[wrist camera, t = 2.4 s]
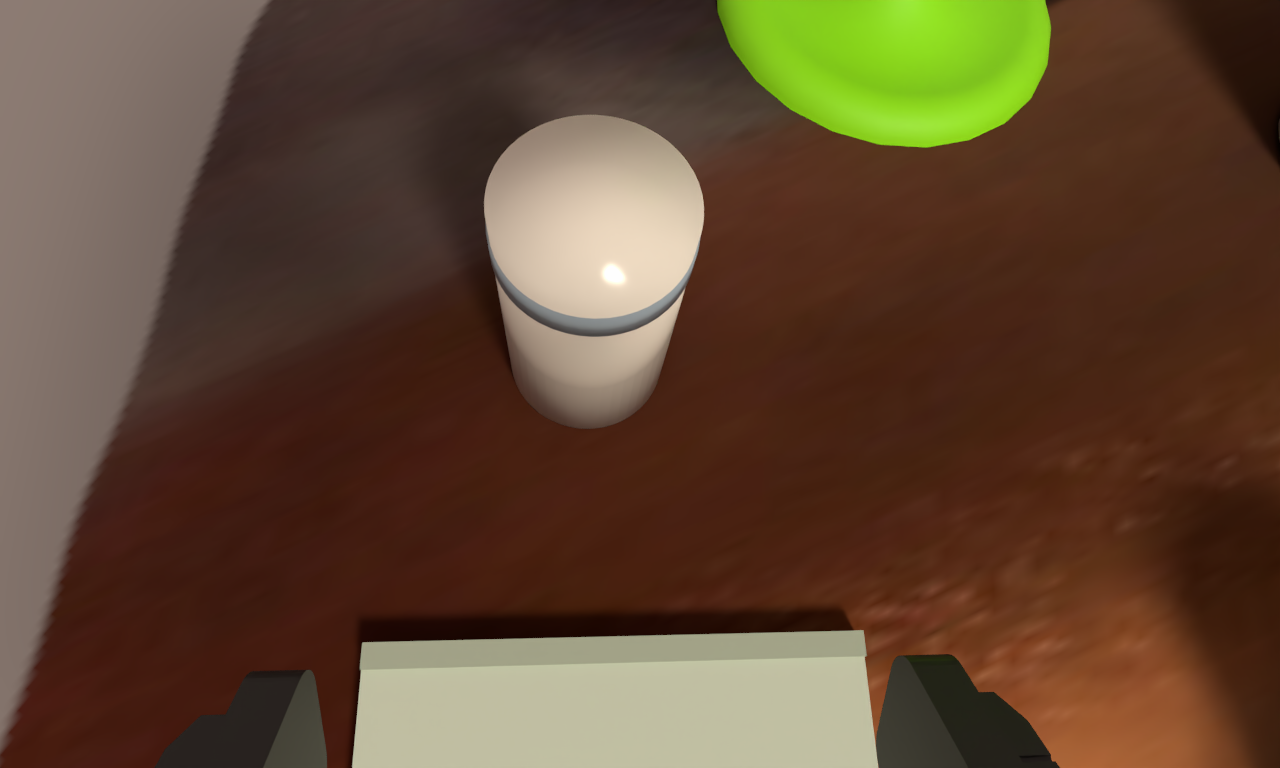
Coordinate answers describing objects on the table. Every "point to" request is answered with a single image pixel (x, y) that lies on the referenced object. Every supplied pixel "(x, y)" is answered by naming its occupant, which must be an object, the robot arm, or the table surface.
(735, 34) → the wineglass
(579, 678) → the mat
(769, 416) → the table surface
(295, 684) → the robot arm
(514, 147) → the cream domed container
